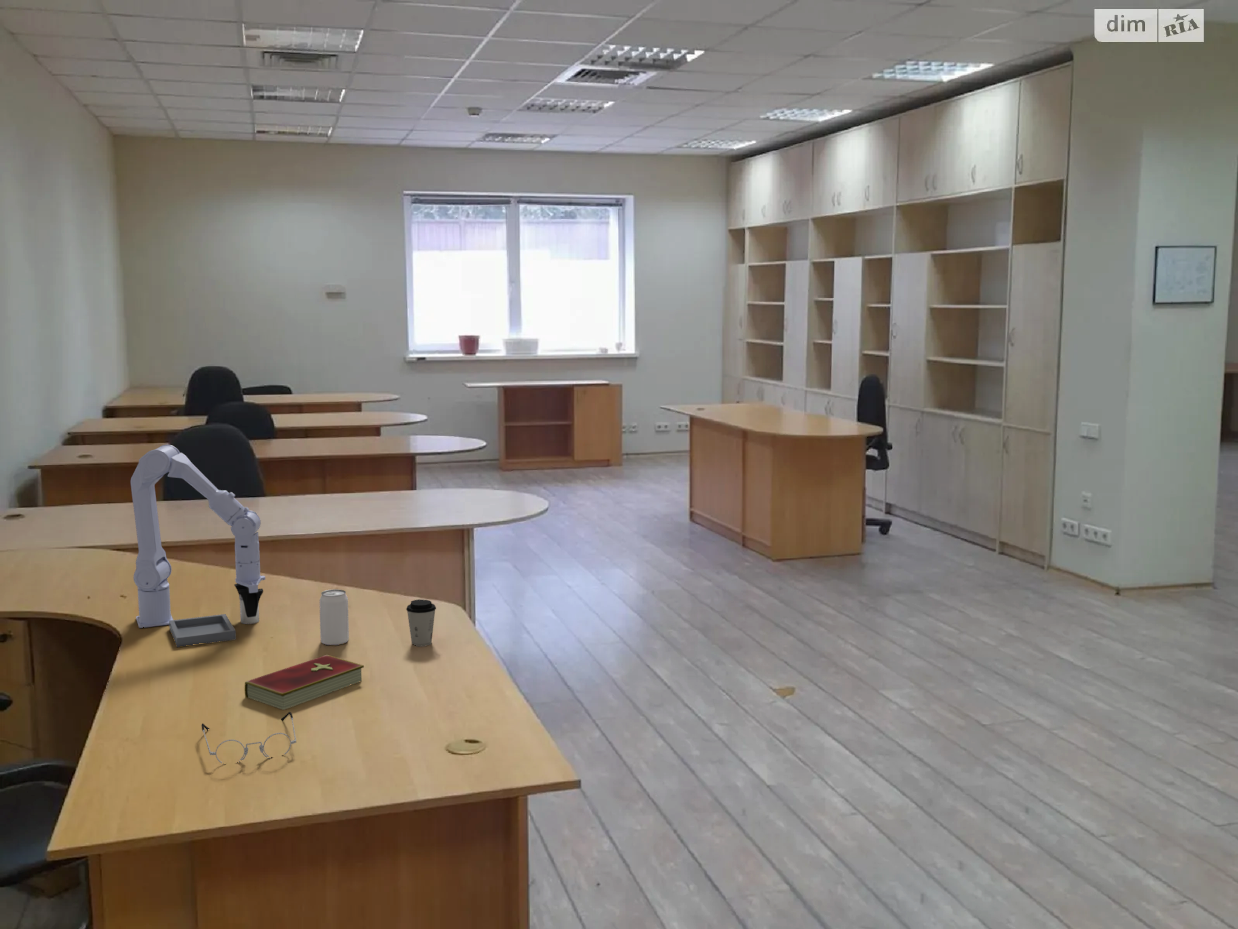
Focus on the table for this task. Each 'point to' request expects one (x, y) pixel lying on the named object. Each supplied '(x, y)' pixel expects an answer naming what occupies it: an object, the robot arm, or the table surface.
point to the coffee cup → (421, 621)
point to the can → (334, 617)
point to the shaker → (244, 617)
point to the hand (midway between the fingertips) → (249, 613)
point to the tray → (202, 630)
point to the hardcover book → (303, 681)
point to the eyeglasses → (252, 743)
